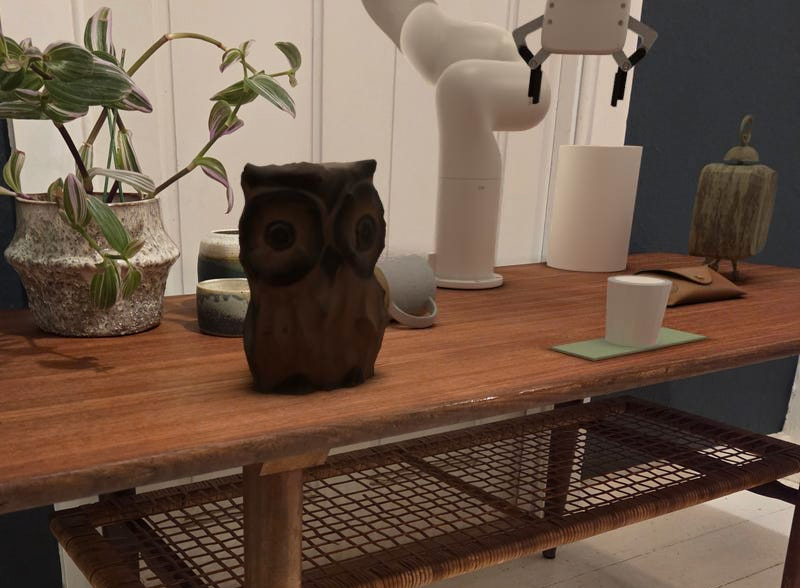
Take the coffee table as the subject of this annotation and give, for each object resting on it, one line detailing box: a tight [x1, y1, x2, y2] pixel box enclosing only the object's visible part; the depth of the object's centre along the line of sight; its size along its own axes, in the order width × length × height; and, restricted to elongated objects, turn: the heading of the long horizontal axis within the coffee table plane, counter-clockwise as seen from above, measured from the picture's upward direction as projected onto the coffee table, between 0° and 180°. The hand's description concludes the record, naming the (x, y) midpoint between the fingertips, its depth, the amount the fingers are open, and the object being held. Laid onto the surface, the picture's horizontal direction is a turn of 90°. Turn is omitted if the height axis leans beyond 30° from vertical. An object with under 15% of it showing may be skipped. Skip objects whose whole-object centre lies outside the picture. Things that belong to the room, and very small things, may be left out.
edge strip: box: [550, 326, 708, 362], centre depth 100 cm, size 20×6×1 cm, turn 124°
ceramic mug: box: [374, 253, 438, 329], centre depth 109 cm, size 11×8×8 cm
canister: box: [546, 144, 644, 273], centre depth 153 cm, size 14×14×20 cm
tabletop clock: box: [687, 114, 779, 281], centre depth 140 cm, size 14×9×25 cm, turn 144°
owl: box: [237, 158, 391, 396], centre depth 80 cm, size 13×13×20 cm
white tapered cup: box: [604, 274, 673, 347], centre depth 99 cm, size 7×7×7 cm
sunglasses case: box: [632, 263, 749, 307], centre depth 128 cm, size 18×7×7 cm
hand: (574, 105), depth 112 cm, fingers open, 9 cm apart
